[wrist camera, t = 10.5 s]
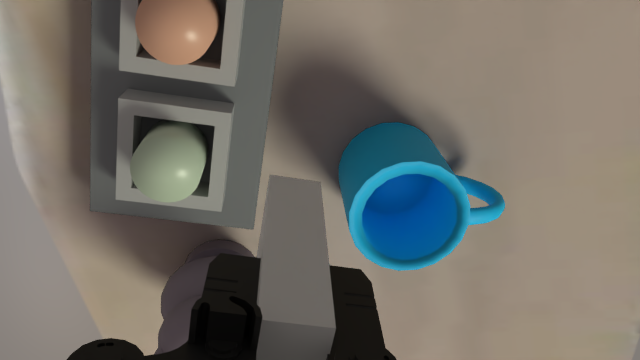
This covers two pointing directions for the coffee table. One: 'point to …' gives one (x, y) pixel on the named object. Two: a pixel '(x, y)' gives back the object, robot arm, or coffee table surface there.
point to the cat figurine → (188, 291)
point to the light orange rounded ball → (177, 28)
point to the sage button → (169, 161)
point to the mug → (407, 198)
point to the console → (183, 110)
